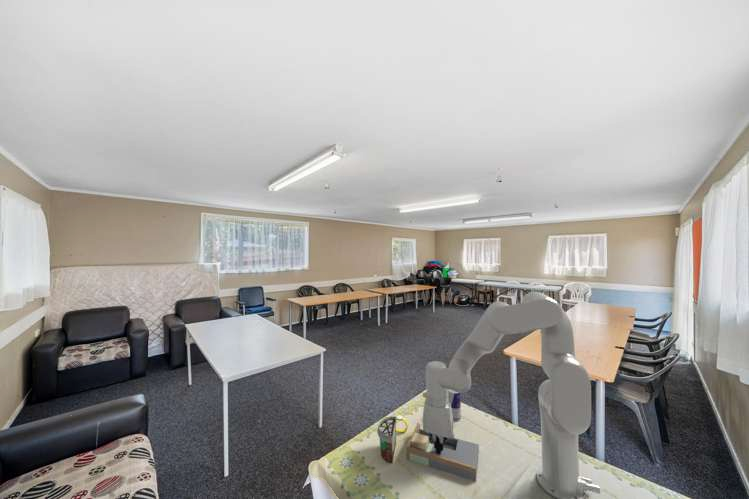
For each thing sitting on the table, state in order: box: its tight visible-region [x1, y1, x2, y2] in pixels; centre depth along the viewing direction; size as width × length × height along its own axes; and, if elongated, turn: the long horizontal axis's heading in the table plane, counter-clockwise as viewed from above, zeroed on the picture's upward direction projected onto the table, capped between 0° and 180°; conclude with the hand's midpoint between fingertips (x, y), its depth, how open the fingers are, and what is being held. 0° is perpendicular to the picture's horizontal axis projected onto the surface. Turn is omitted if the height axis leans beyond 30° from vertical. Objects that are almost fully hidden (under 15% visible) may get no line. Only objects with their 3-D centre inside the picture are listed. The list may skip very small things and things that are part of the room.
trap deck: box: [406, 422, 480, 482], centre depth 95 cm, size 23×14×4 cm, turn 65°
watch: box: [395, 414, 409, 434], centre depth 109 cm, size 6×3×6 cm, turn 75°
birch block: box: [411, 433, 429, 452], centre depth 96 cm, size 5×5×3 cm
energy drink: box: [448, 389, 462, 422], centre depth 117 cm, size 5×5×12 cm
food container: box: [376, 416, 397, 464], centre depth 97 cm, size 12×6×10 cm, turn 168°
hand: (438, 451), depth 93 cm, fingers closed
